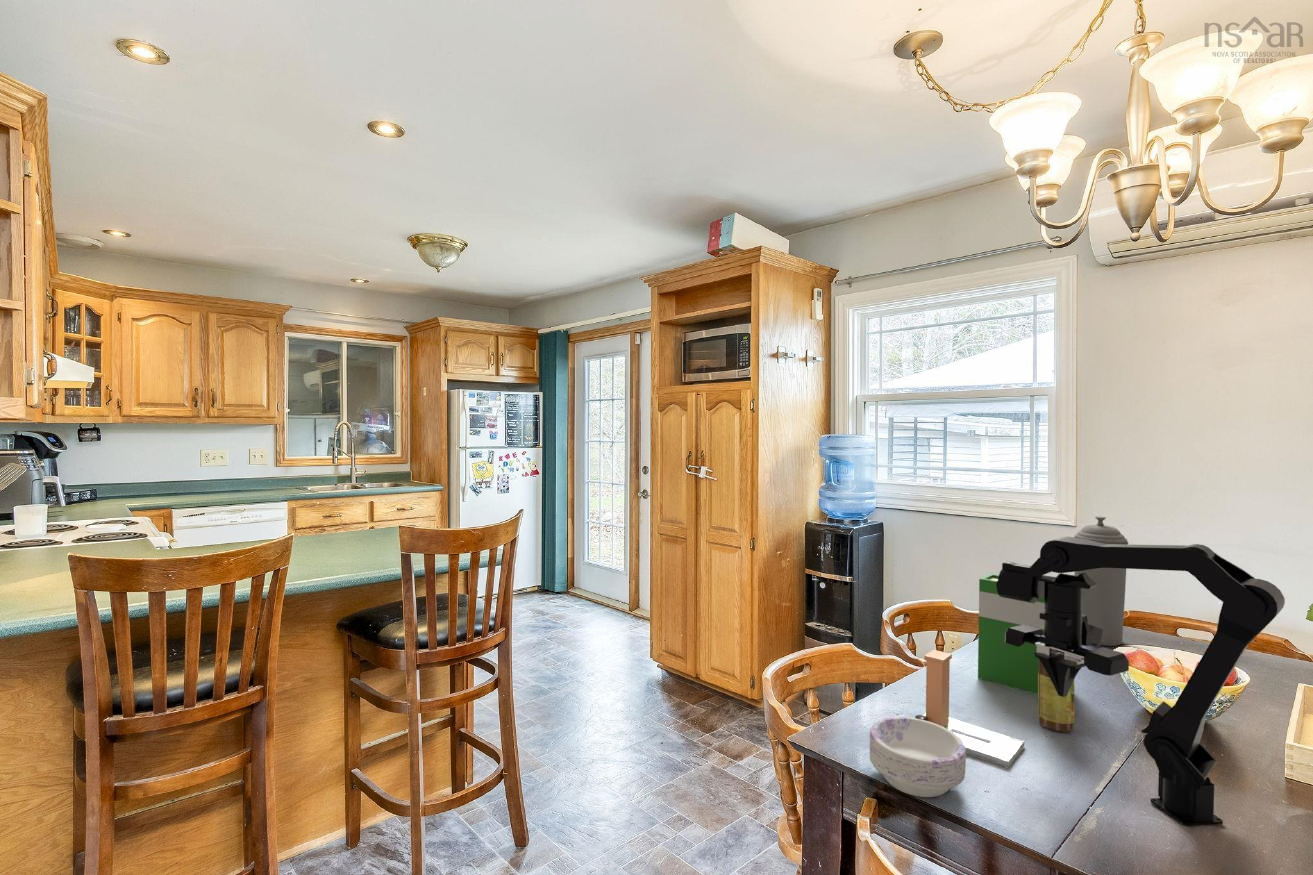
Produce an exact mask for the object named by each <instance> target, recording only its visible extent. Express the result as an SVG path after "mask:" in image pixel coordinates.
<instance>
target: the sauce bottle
mask: <svg viewBox="0 0 1313 875" xmlns="http://www.w3.org/2000/svg"><path fill="white" fill-rule="evenodd" d="M1075 689H1076V688H1075V680H1074V681H1073V683H1072V685H1071V688H1070V690H1069V692H1068V694H1067V696H1066V697H1061V696H1059V695H1058V693H1057V691H1056V689H1055V687H1054V685H1053V683H1052V681H1051V679H1050V677H1049V675H1048V673H1047V672H1046V670H1045V668H1044V667H1043V665H1042V663H1041V662H1040V660H1039V672H1038V694H1037V698H1038V699H1037V700H1038V701H1037V702H1038V704H1037V705H1038V706H1037V707H1038V709H1037V710H1038V714H1037V715H1038V717H1039V718H1038V721H1039V723H1040V725H1042V726H1043V727H1044V728H1045V729H1048V730H1051V731H1055V732H1060V733H1061V732H1062V733H1068V732H1071V731H1073V729H1074V725H1075V724H1074V723H1075V701H1076V700H1075V691H1076V690H1075Z"/></svg>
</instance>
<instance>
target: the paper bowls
mask: <svg viewBox="0 0 1313 875" xmlns="http://www.w3.org/2000/svg"><path fill="white" fill-rule="evenodd" d="M966 755H967V754H966V747H965V745H964V743H963V741H962V740H961V739H960V738H959V737H958V736H957V735H956V734H954V733H953V732H952V731H950V730H948V729H946V728H944V727H942V726H940V725H938V724H935V723H932V722H929V721H925V720H921V719H916V718H914V717H907V716H906V717H905V716H893V717H886V718H883V719H879V720H878V721H876V722H874V723H873V724H872V726H871V727H870V731H869V761H870V762H871V764H872V766H873V768H875V769H876V771H878V772H879V773H880V774H881V775H882V776H883V777H884V778H885V780H886V782H888V783H889V785H891V786H892V787H894V788H895V790H898V791H900V792H902V793H905V794H907V795H910V796H914V797H920V798H935V797H940V796H942V795H944V794H946V793H947V792H948V791H950V790H949V789H952V788H955V787H958V786H959V785H960V784H961V783H962V782H964V780H965V775H966V766H967V764H966V763H967V762H966V761H967V756H966Z"/></svg>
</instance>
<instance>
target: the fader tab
mask: <svg viewBox="0 0 1313 875" xmlns="http://www.w3.org/2000/svg"><path fill="white" fill-rule="evenodd" d="M952 656H953V654H952V653H948V652H944V651H940V650H937V649H936V650H935V649H931V650H930V651H929V652H927V653H926V654H925V655H924V659H923V660H925V661H926V663H925V664H926V669H925V671H926V674H925V675H926V677H925V678H926V680H925V681H926V682H925V684H926V685H925V713H926V717H928V718H929V722H932V723H935V724H938V725H940V726H942V727H945V726H946V725H947V724H948V723H949V717H950V668H951V667H950V666H951V665H950V662H951V661H950V660H952V659H953V657H952Z"/></svg>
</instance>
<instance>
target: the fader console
mask: <svg viewBox="0 0 1313 875" xmlns="http://www.w3.org/2000/svg"><path fill="white" fill-rule="evenodd" d="M915 718H916V719H921V720H925V721H929V718H928V717H926V712H925V713H924V714H916V715H915ZM944 728H946V729H948V730H950V731H952V732H953V733H954V734H956V735H957V736H958V737H959V738H960V739H961V740H962V741H963V743H964V745H965V747H966V755H969V754H970V755H969V756H972V757H975V756H976V758H978V759H981V760H984V761H987V762H990V763H992V764H996V765H997V766H998V765H999V766H1002V767H1005V768H1006V769H1007V768H1008V769H1009V768H1010V766H1011V765H1012V764H1013V763H1014V761H1015V760H1016V759H1017V757H1019V755H1020V754H1021V752H1022V751H1023V750H1024V748H1025V740H1023V739H1022V740H1021V739H1018V738H1015V737H1012V736H1010V735H1009V736H1008V735H1006V734H1002V733H999V732H996V731H993V730H990V729H986V728H983V727H980V726H977V725H975V724H974V725H973V724H970V723H967V722H964V721H961V720H959V719H956V718H952V717H950V716H949V723H948V724H947V725H946V726H945V727H944Z"/></svg>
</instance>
